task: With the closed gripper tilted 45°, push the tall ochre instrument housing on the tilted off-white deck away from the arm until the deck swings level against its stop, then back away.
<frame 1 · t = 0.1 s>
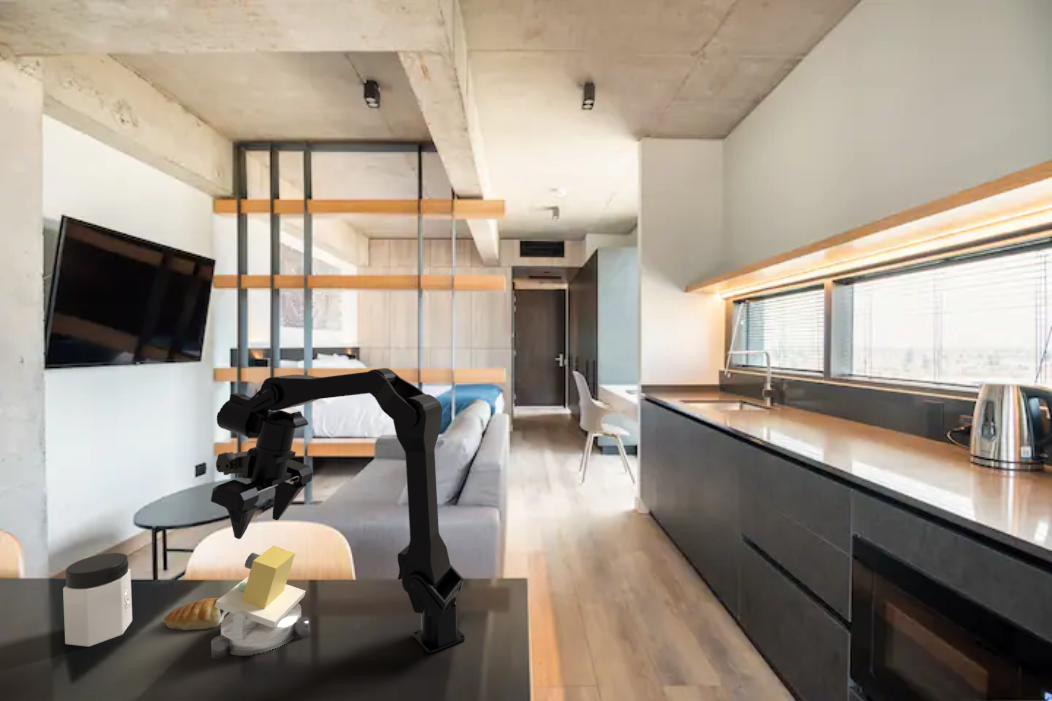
hand: (257, 528, 94), 15 cm above the table, tool pointing down, fingers open, 9 cm apart
instrument: (267, 580, 88), point 9 cm above the table, hinge at -18.0°
tribrach base: (262, 633, 89), on the table
jar: (100, 633, 89), on the table
pastry: (200, 623, 93), on the table
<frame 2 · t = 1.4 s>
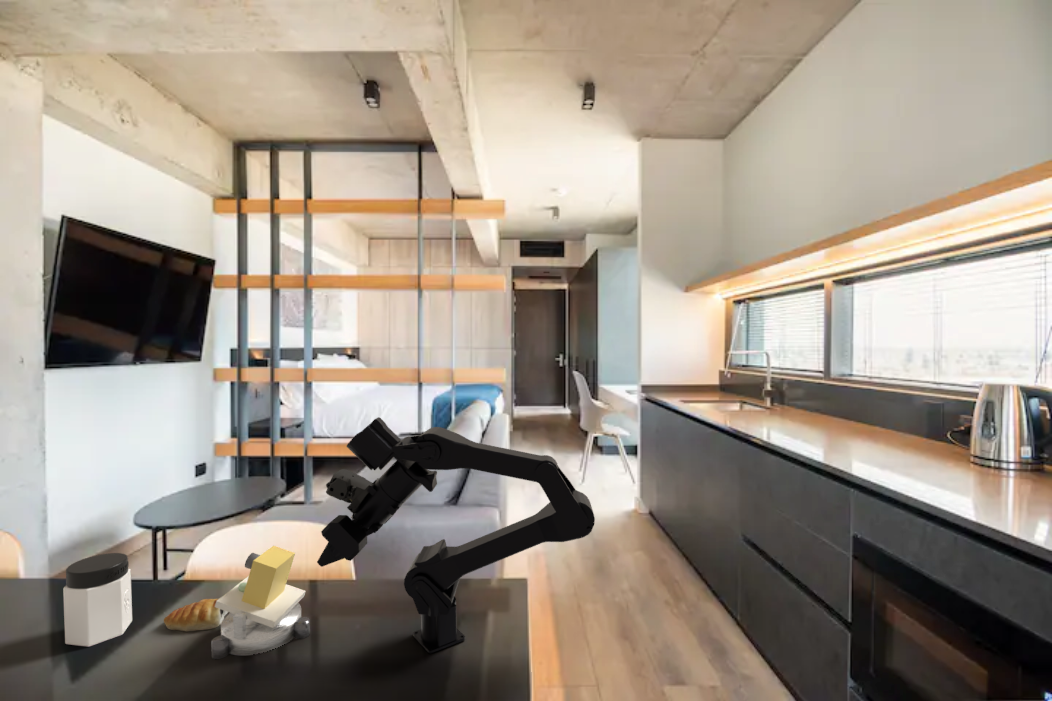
hand: (328, 555, 87), 14 cm above the table, tool tilted 45°, fingers open, 6 cm apart
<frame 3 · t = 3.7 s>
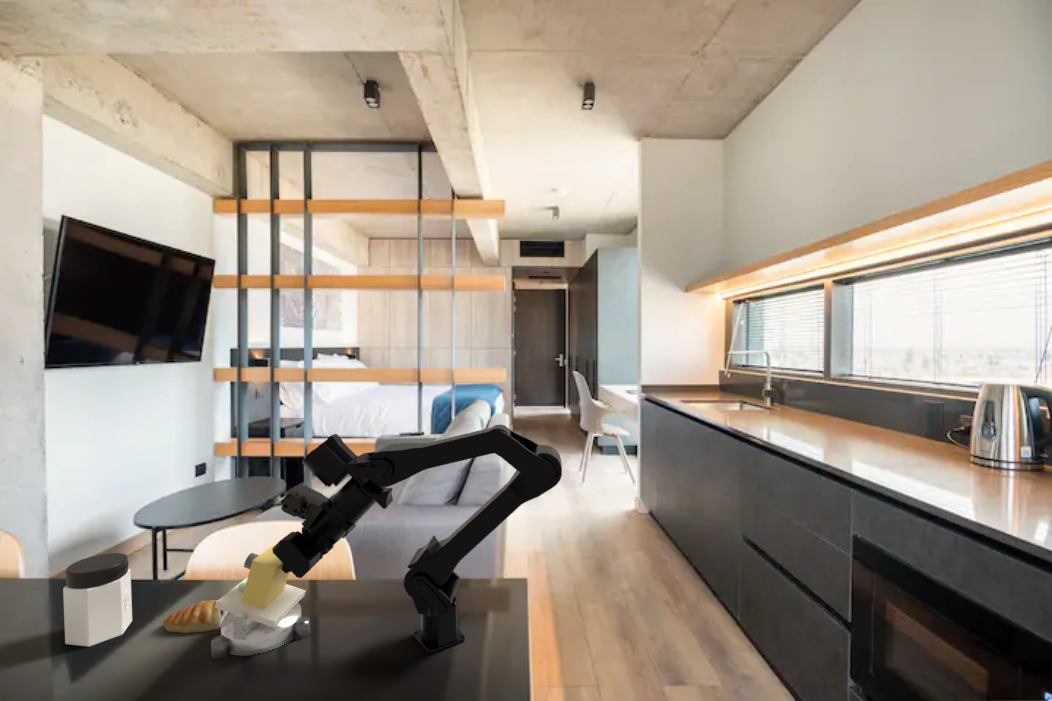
hand: (284, 570, 88), 11 cm above the table, tool tilted 45°, fingers closed, pressing on instrument
instrument: (267, 580, 88), point 9 cm above the table, hinge at -16.9°, touching gripper
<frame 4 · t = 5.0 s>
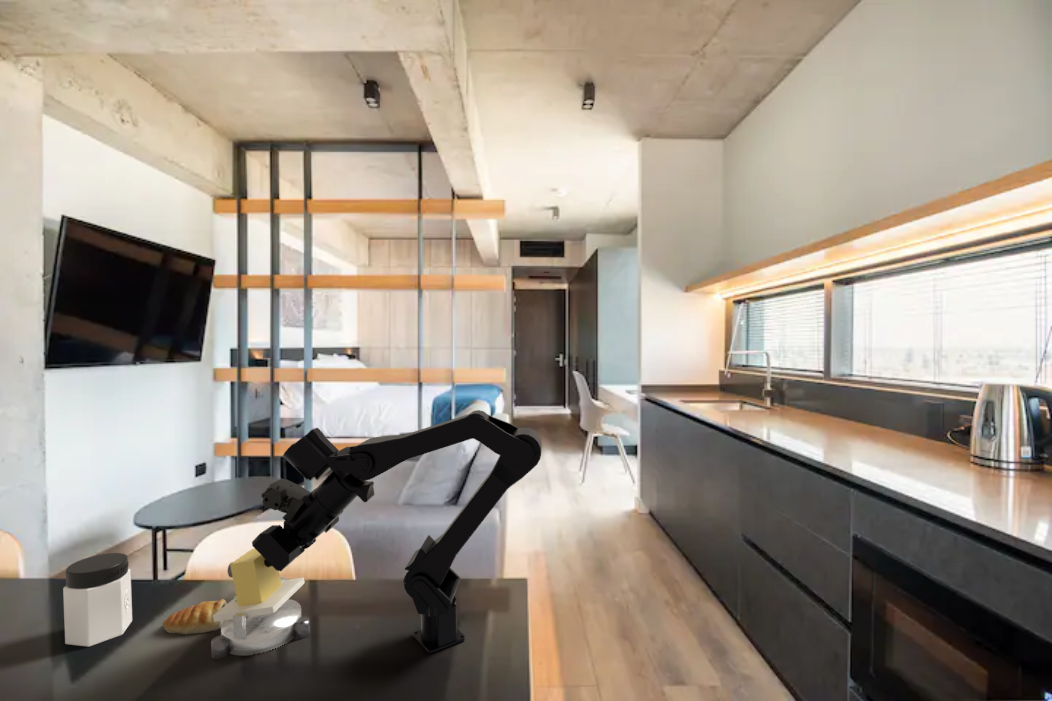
hand: (266, 564, 88), 12 cm above the table, tool tilted 45°, fingers closed, pressing on instrument
instrument: (257, 579, 88), point 9 cm above the table, hinge at 9.8°, touching gripper
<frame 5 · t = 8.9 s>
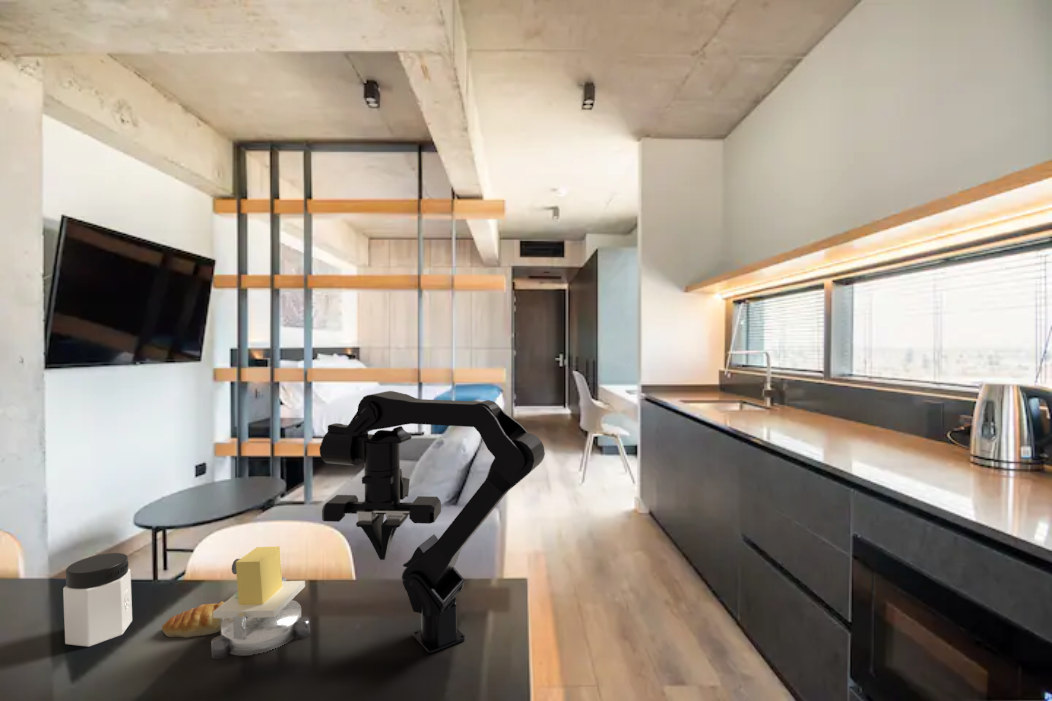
hand: (383, 558, 89), 12 cm above the table, tool pointing down, fingers closed
instrument: (260, 579, 88), point 9 cm above the table, hinge at 2.7°
pastry: (200, 630, 91), on the table
everything else where it was.
at the end: instrument at +3° (first picture: -18°); pastry moved 2.6 cm from its start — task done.
